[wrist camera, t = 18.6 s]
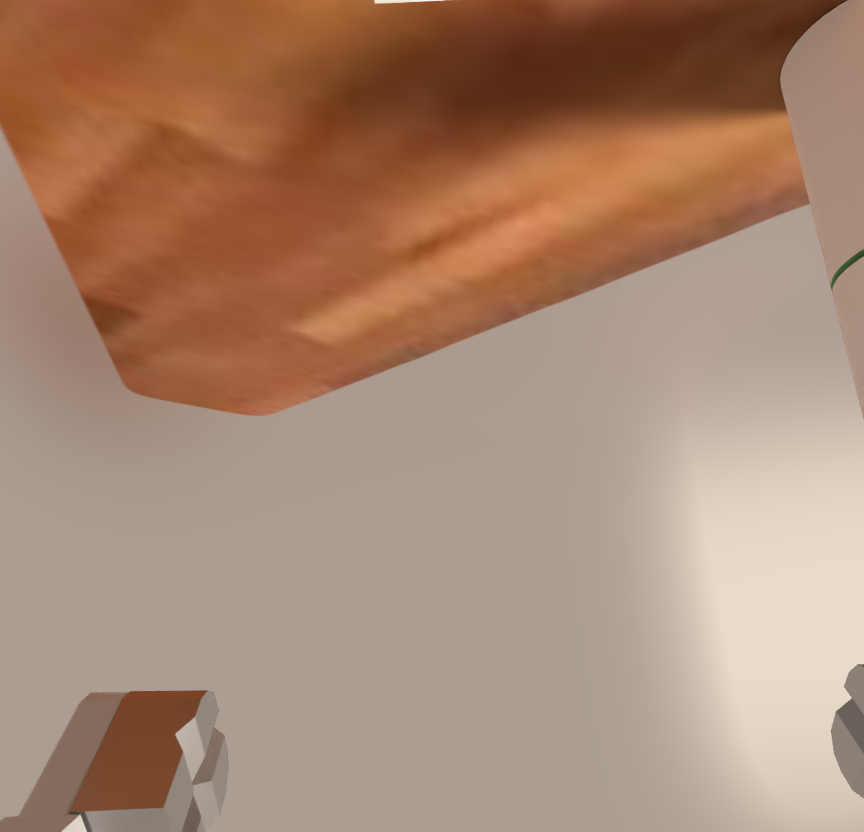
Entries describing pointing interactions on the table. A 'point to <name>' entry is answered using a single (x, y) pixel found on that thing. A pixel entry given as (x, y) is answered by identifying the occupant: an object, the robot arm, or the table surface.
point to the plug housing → (396, 0)
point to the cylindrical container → (834, 156)
